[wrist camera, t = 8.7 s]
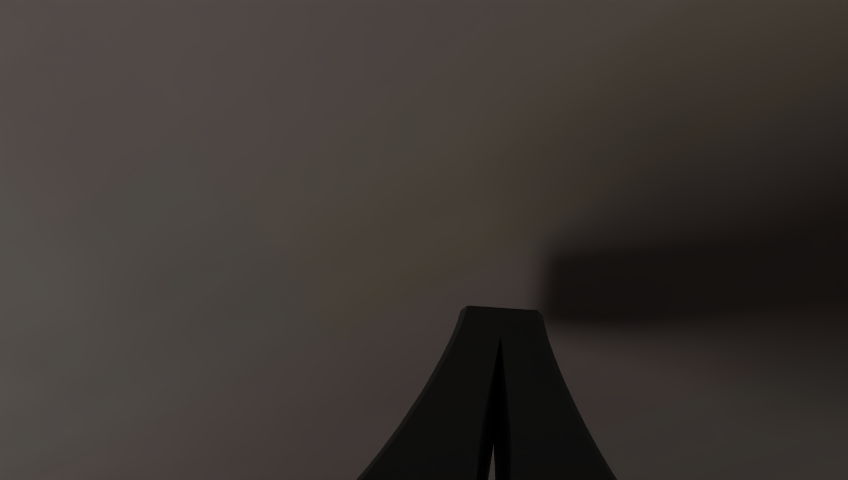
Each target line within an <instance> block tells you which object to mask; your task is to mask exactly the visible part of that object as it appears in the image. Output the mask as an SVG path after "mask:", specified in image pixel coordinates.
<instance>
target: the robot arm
mask: <svg viewBox="0 0 848 480" xmlns="http://www.w3.org/2000/svg"><path fill="white" fill-rule="evenodd" d="M493 444H494V461H495V480H617V479H616V478H615V476H614V474H613V473H612V471H611V469H610V468H609V466H608V464H607V463H606V461H605V459H604V458H603V456H602V454H601V453H600V451H599V449H598V447H597V445H596V444H595V442H594V440H593V438H592V436H591V434H590V433H589V431H588V429H587V427H586V425H585V423H584V421H583V419H582V417H581V415H580V413H579V412H578V410H577V407H576V405H575V403H574V401H573V399H572V397H571V394H570V392H569V390H568V388H567V386H566V384H565V381H564V379H563V377H562V374H561V372H560V370H559V367H558V365H557V362H556V359H555V357H554V354H553V351H552V349H551V346H550V343H549V340H548V336H547V333H546V329H545V325H544V321H543V316H542V315H541V314H540V313H539V312H538V311H537V310H523V309H509V308H494V307H480V306H466V307H465V308H463V309H462V310H461V312H460V315H459V319H458V322H457V324H456V327H455V329H454V332H453V334H452V336H451V339H450V341H449V343H448V345H447V347H446V349H445V351H444V353H443V355H442V357H441V359H440V361H439V362H438V364H437V366H436V368H435V370H434V371H433V373H432V375H431V377H430V378H429V380H428V382H427V384H426V385H425V387H424V389H423V390H422V392H421V394H420V395H419V397H418V398H417V400H416V401H415V403H414V404H413V406H412V407H411V409H410V410H409V412H408V413H407V415H406V416H405V418H404V419H403V421H402V422H401V424H400V425H399V427H398V428H397V429H396V431H395V432H394V433H393V435H392V436H391V438H390V439H389V440H388V442H387V443H386V444H385V445H384V447H383V448H382V449H381V451H380V452H379V453H378V454H377V456H376V457H375V458H374V459H373V461H372V462H371V463H370V464H369V466H368V467H367V468H366V469H365V470H364V472H363V473H362V474H361V475H360V476H359V477H358V478H357V480H488V477H489V470H490V464H491V457H492V451H493Z"/></svg>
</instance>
